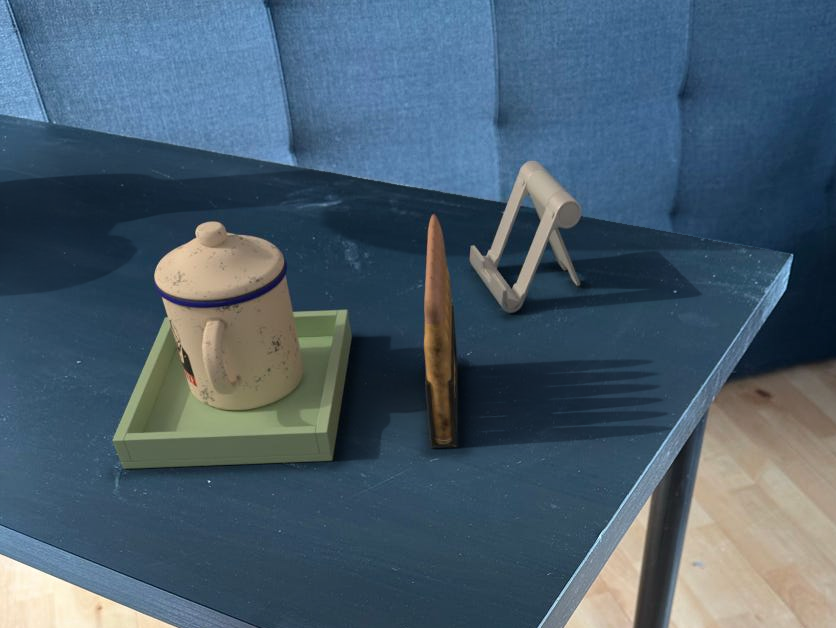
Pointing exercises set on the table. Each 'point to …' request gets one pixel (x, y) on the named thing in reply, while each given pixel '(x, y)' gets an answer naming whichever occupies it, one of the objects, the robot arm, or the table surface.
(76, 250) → the table surface
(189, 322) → the teacup with lid
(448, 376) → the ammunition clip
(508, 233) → the tablet stand
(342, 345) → the tray
